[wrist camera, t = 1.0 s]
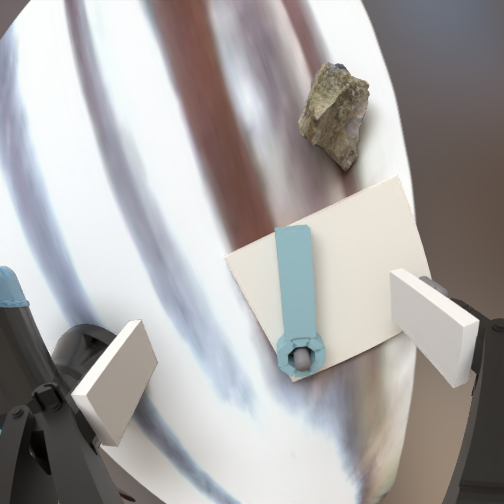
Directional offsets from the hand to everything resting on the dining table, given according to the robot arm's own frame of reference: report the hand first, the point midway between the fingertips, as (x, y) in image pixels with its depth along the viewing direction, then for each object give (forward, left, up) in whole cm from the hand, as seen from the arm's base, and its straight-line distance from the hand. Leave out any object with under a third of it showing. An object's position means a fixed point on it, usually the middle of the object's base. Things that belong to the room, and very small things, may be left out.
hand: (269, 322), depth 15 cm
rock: (+13, +9, -21) cm, 26 cm away
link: (0, -8, -19) cm, 20 cm away
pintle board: (+6, -9, -20) cm, 23 cm away
